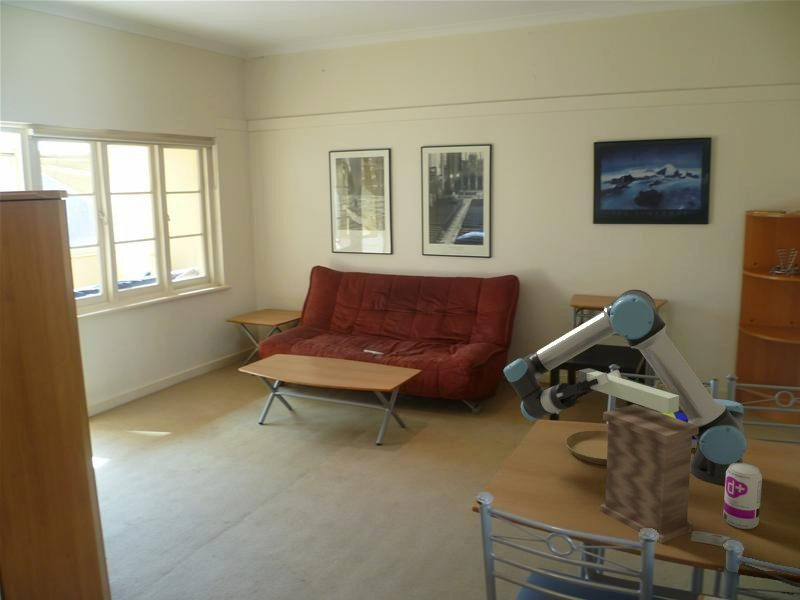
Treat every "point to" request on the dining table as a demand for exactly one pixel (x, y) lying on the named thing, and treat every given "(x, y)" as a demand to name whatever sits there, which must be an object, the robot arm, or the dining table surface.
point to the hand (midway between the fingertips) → (613, 376)
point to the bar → (634, 392)
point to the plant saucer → (589, 445)
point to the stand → (648, 470)
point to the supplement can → (742, 495)
